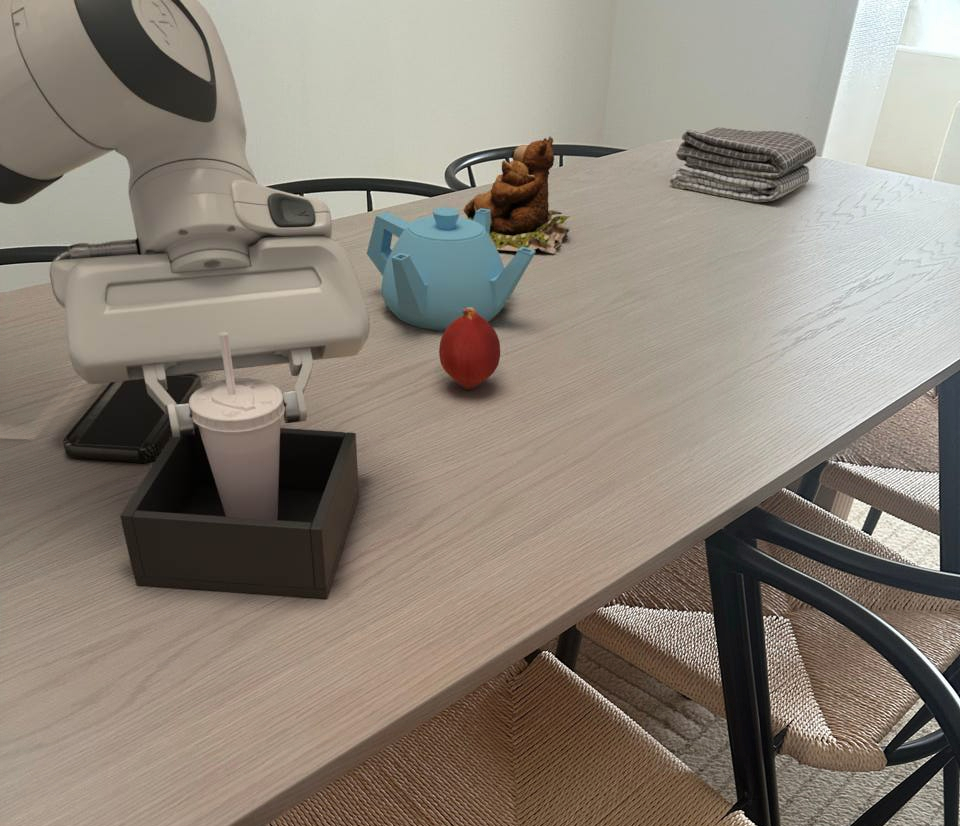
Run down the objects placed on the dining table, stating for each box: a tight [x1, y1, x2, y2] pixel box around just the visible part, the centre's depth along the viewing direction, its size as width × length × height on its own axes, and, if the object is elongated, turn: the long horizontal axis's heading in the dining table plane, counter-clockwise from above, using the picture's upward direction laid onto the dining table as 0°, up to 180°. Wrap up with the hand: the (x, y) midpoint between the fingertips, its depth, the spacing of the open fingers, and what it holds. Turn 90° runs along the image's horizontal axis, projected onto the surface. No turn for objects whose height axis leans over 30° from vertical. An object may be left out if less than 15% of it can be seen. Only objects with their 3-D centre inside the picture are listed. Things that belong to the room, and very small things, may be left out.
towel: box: [669, 127, 818, 203], centre depth 151 cm, size 15×18×8 cm
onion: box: [438, 307, 501, 390], centre depth 93 cm, size 6×6×8 cm
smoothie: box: [189, 332, 285, 520], centre depth 69 cm, size 6×6×14 cm
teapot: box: [366, 206, 536, 332], centre depth 107 cm, size 15×15×11 cm
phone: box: [62, 373, 202, 463], centre depth 88 cm, size 8×1×15 cm
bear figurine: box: [462, 136, 571, 254], centre depth 127 cm, size 14×15×12 cm
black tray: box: [119, 421, 360, 600], centre depth 73 cm, size 14×14×6 cm
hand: (241, 426), depth 68 cm, fingers closed on smoothie, 6 cm apart
